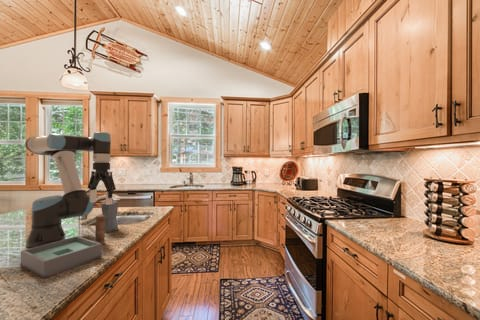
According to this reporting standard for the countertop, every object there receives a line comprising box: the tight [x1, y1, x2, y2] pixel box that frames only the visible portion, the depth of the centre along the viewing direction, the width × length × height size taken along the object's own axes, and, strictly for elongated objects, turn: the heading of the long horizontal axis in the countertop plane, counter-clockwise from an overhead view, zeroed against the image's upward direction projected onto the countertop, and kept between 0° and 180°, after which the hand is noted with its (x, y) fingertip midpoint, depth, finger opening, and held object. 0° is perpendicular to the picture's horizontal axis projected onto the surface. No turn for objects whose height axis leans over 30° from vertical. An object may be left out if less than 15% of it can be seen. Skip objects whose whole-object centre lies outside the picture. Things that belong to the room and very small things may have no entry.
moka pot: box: [100, 198, 119, 233], centre depth 133 cm, size 10×15×20 cm, turn 24°
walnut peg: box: [94, 215, 106, 245], centre depth 110 cm, size 4×4×14 cm
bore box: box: [19, 235, 103, 279], centre depth 90 cm, size 20×20×6 cm
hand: (100, 203), depth 110 cm, fingers open, 13 cm apart
